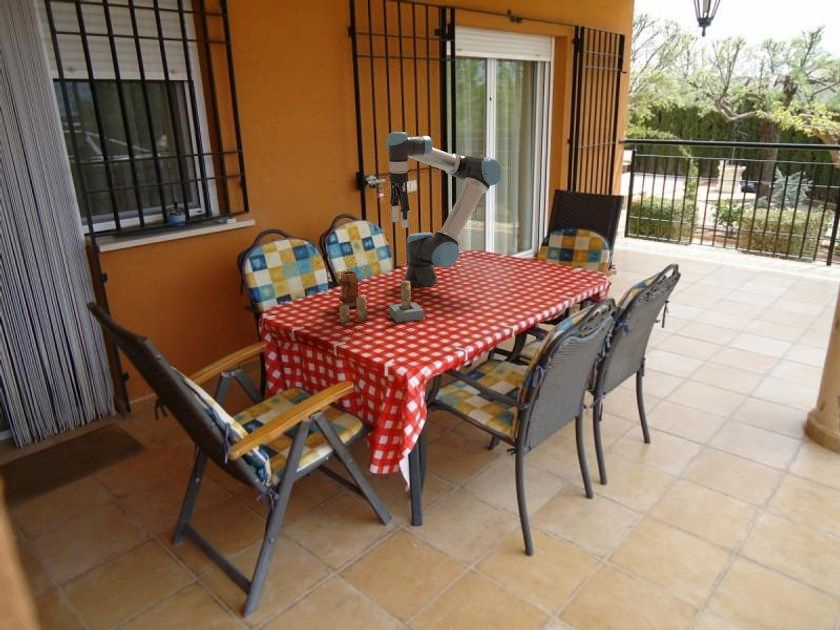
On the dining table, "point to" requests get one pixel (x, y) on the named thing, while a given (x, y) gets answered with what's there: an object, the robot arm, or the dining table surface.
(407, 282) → the dowel long
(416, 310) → the hole block
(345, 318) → the dowel short
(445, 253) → the robot arm
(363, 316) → the dowel medium
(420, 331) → the dining table surface
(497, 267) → the dining table surface
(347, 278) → the mug
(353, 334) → the dining table surface
